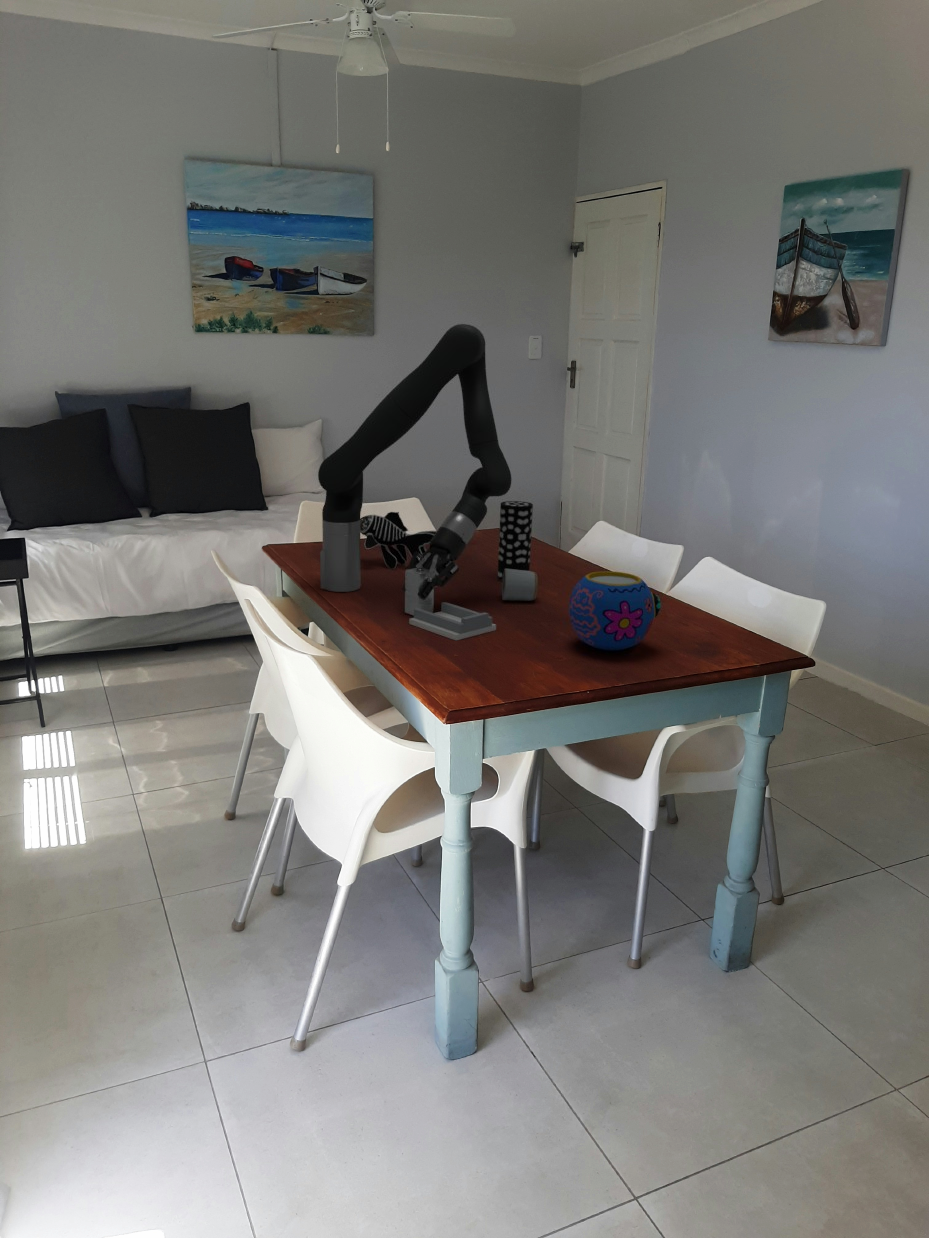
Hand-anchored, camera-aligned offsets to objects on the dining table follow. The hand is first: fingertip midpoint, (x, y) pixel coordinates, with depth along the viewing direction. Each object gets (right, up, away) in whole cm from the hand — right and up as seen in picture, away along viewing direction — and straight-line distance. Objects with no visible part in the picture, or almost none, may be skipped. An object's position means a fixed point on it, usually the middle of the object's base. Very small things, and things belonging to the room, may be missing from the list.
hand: (413, 594), depth 219 cm
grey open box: (+9, -7, -6) cm, 13 cm away
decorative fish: (-6, +8, +45) cm, 46 cm away
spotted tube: (+24, +5, +36) cm, 44 cm away
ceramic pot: (+42, -12, -16) cm, 46 cm away
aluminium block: (+1, -4, +3) cm, 5 cm away
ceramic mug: (+24, -1, +18) cm, 31 cm away
